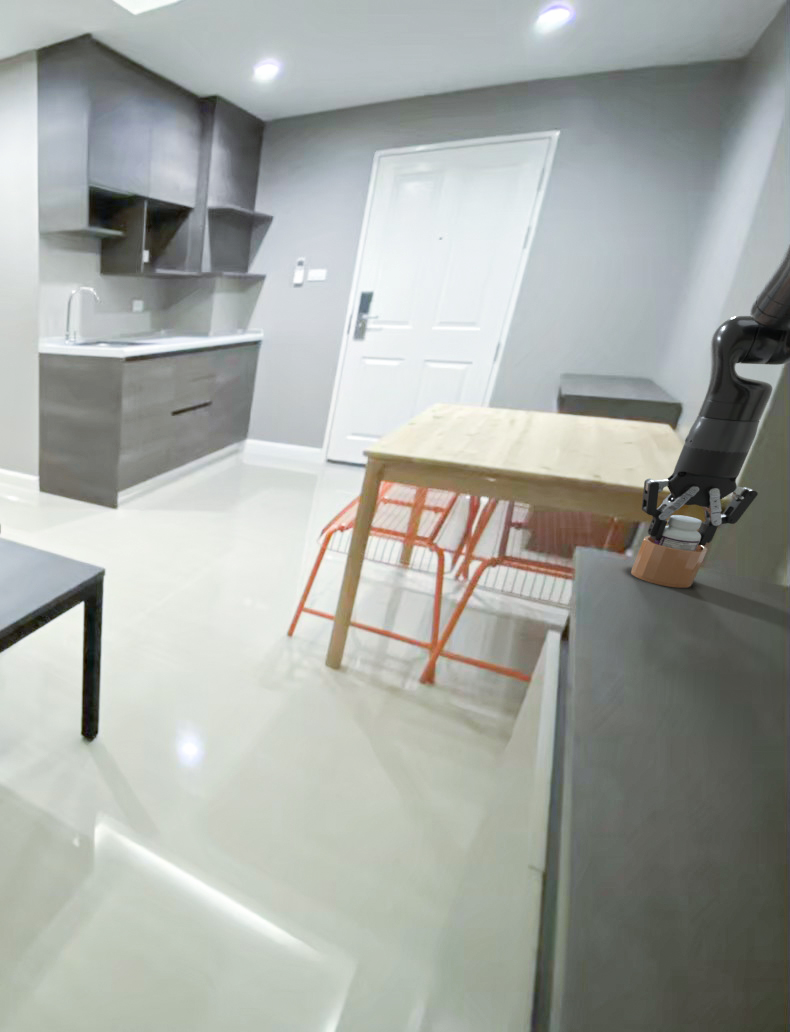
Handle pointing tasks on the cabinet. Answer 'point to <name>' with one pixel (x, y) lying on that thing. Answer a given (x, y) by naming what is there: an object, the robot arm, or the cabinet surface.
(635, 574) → the holder
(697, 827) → the cabinet surface
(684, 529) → the pill bottle
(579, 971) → the cabinet surface
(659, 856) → the cabinet surface
